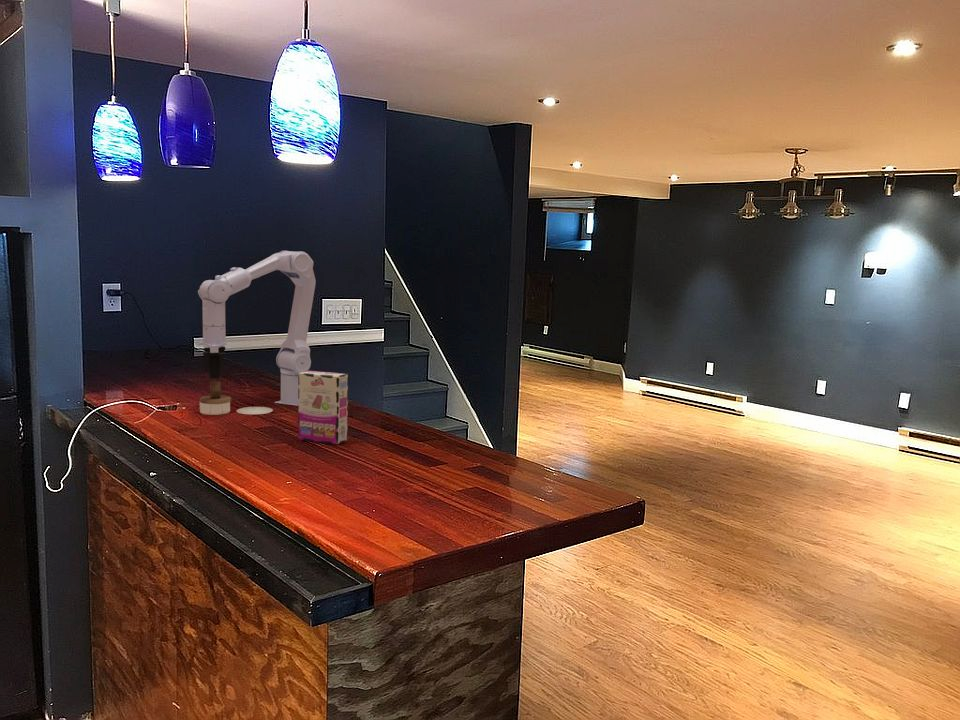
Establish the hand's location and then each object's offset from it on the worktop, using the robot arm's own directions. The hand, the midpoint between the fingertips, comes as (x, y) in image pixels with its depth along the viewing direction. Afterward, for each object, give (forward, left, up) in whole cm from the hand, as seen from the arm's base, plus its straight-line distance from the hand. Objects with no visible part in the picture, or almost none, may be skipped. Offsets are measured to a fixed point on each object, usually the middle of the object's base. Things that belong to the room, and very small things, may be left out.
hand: (214, 375), depth 209 cm
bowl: (0, 0, -10) cm, 10 cm away
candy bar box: (-40, +10, -11) cm, 43 cm away
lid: (0, 0, -7) cm, 7 cm away
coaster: (-8, -6, -10) cm, 15 cm away
